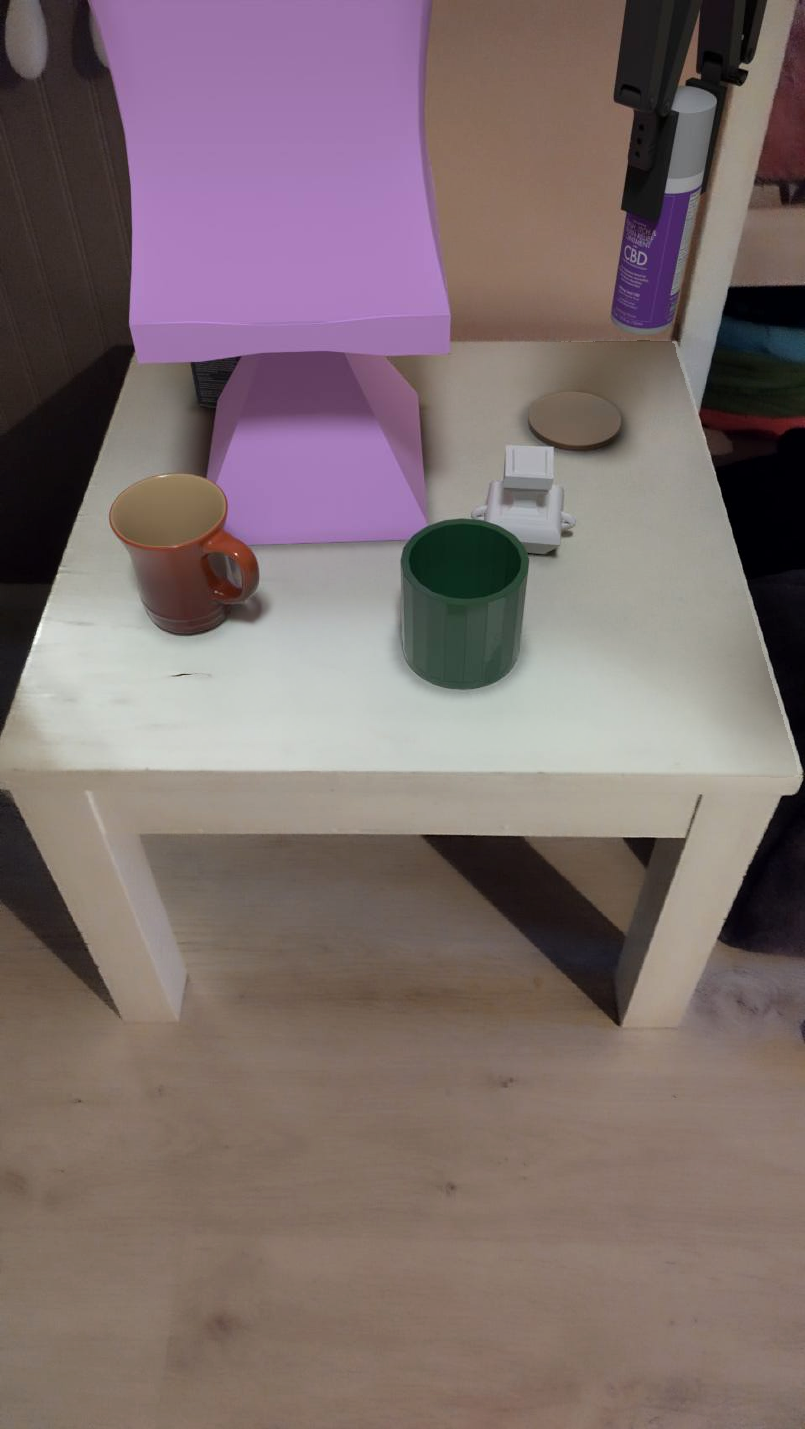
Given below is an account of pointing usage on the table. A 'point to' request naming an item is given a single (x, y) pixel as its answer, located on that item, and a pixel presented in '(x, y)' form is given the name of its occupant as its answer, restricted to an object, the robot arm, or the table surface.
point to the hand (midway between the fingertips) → (663, 200)
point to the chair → (288, 245)
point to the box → (212, 379)
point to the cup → (462, 602)
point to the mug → (183, 550)
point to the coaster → (574, 421)
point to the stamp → (528, 499)
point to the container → (665, 226)
